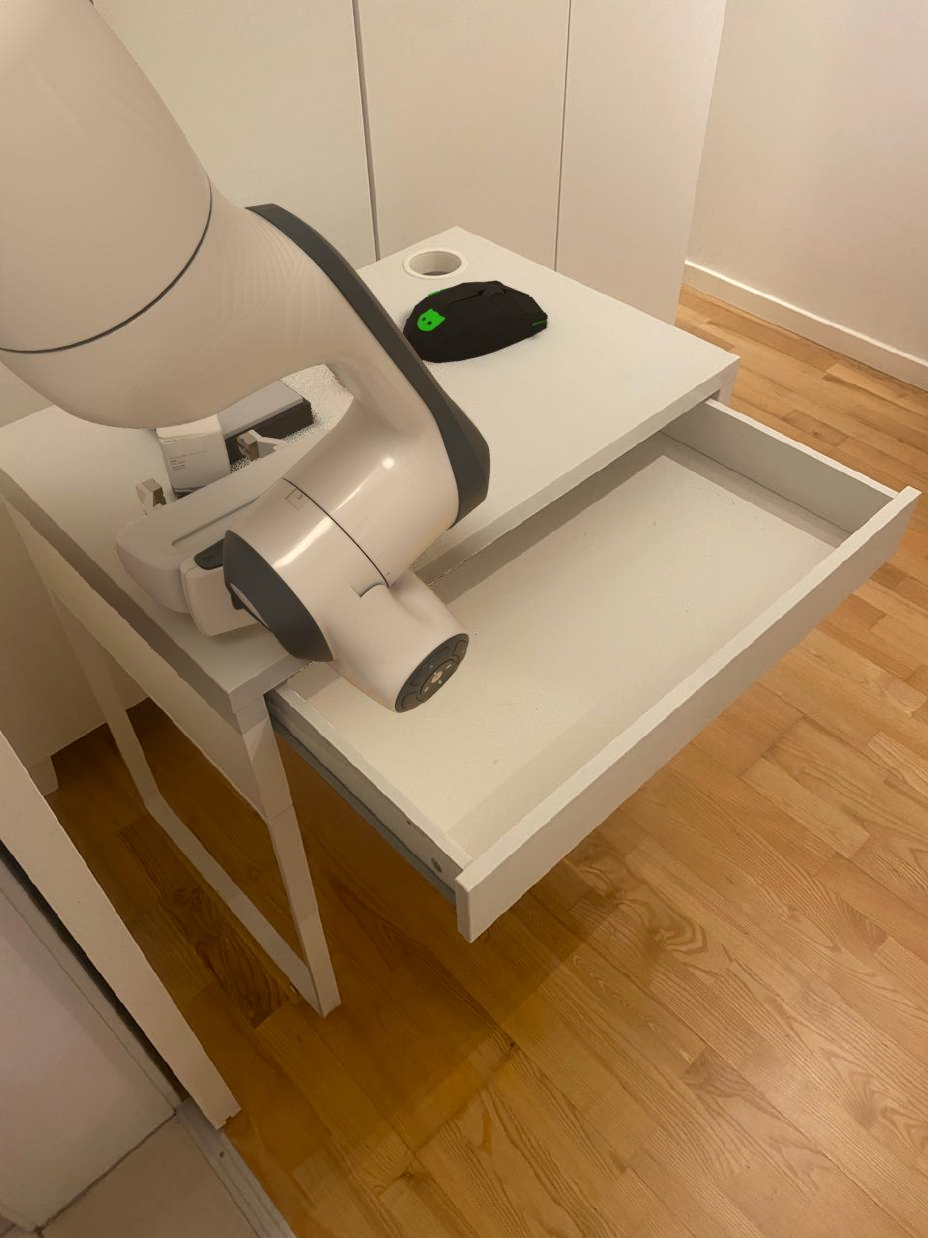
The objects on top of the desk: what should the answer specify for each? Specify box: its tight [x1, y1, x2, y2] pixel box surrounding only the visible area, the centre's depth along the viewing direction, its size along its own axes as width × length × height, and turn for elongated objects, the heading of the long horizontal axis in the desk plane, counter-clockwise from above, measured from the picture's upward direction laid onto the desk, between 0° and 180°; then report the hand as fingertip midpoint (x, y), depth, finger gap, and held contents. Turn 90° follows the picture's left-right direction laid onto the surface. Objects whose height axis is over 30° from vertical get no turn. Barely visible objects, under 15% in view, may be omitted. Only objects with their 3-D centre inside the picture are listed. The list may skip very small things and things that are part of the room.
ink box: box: [155, 414, 233, 502], centre depth 79 cm, size 9×5×12 cm, turn 20°
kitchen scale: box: [153, 379, 314, 465], centre depth 91 cm, size 12×12×3 cm
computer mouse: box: [402, 279, 549, 364], centre depth 103 cm, size 11×16×4 cm
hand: (196, 463), depth 78 cm, fingers open, 8 cm apart
